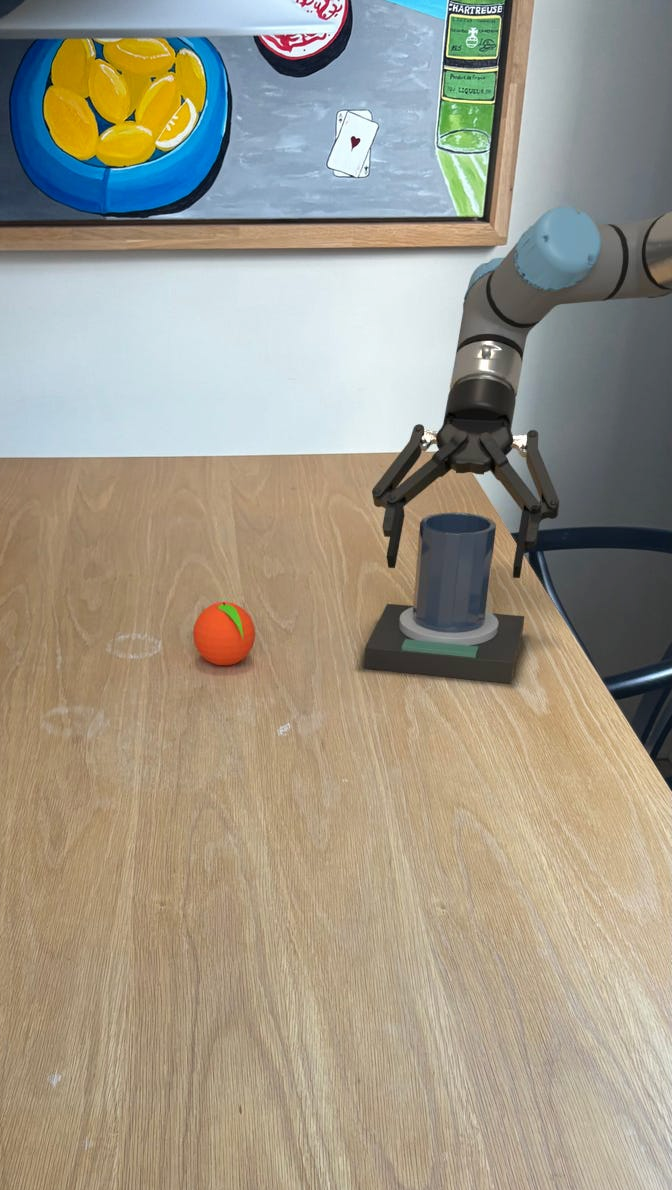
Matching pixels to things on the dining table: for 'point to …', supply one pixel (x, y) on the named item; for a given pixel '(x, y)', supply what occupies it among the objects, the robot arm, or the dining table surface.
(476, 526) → the cup
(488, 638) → the scale
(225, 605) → the clementine
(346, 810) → the dining table surface
